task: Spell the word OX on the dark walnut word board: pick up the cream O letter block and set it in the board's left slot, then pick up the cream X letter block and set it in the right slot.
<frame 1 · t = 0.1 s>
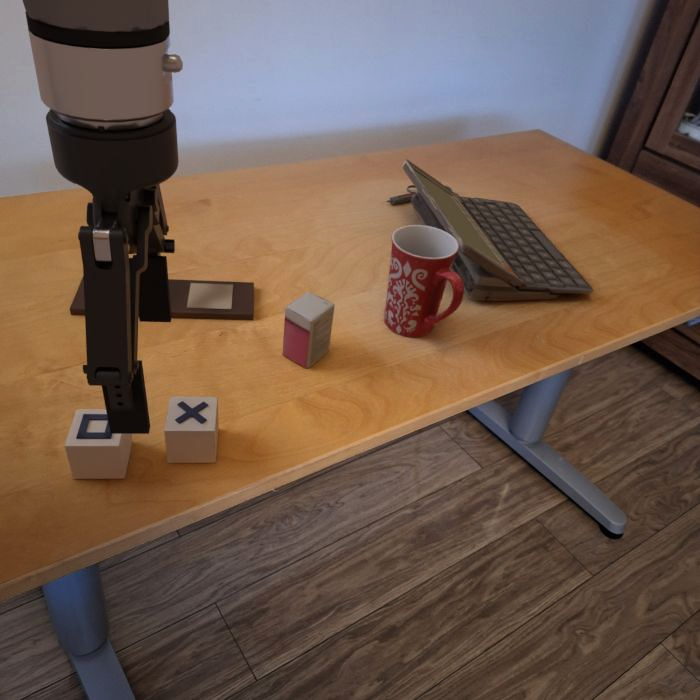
hand: (144, 369, 51), 17 cm above the table, tool pointing down, fingers open, 13 cm apart
tile O: (103, 459, 65), on the table
tile X: (194, 445, 68), on the table
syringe: (415, 200, 122), on the table
small box: (305, 354, 82), on the table
laptop: (484, 252, 109), on the table
word board: (167, 300, 87), on the table
mug: (414, 330, 89), on the table
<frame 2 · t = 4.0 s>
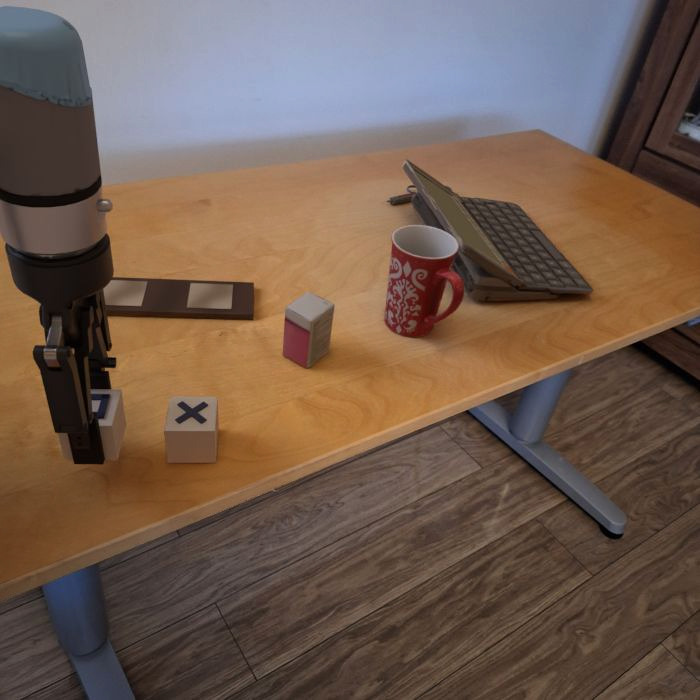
hand: (95, 439, 62), 3 cm above the table, tool pointing down, fingers closed on tile O, 5 cm apart
tile O: (96, 441, 63), point 3 cm above the table, touching gripper
everything else where it was.
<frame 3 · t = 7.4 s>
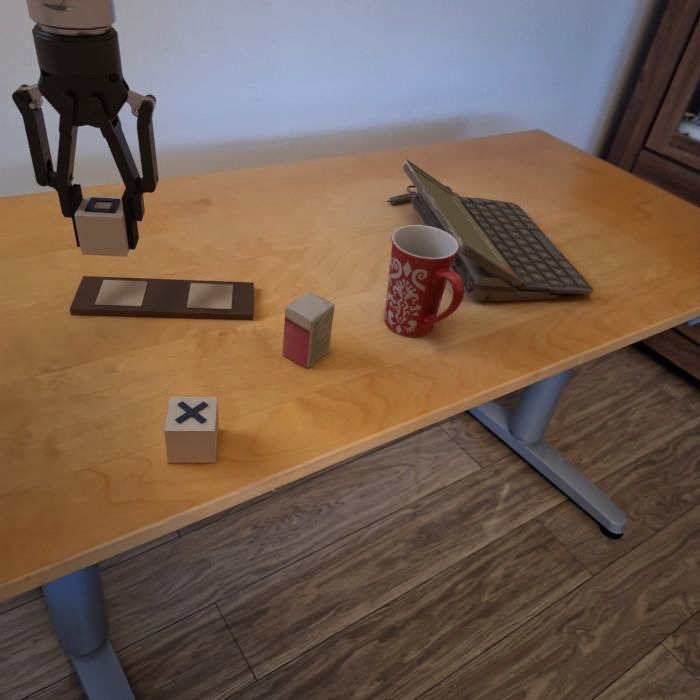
hand: (108, 242, 73), 13 cm above the table, tool pointing down, fingers closed on tile O, 5 cm apart
tile O: (109, 244, 73), point 13 cm above the table, touching gripper
everything else where it was.
when the fingers open (1 cm above the table, at t = 10.7 s): tile O stays where it is, resting on word board.
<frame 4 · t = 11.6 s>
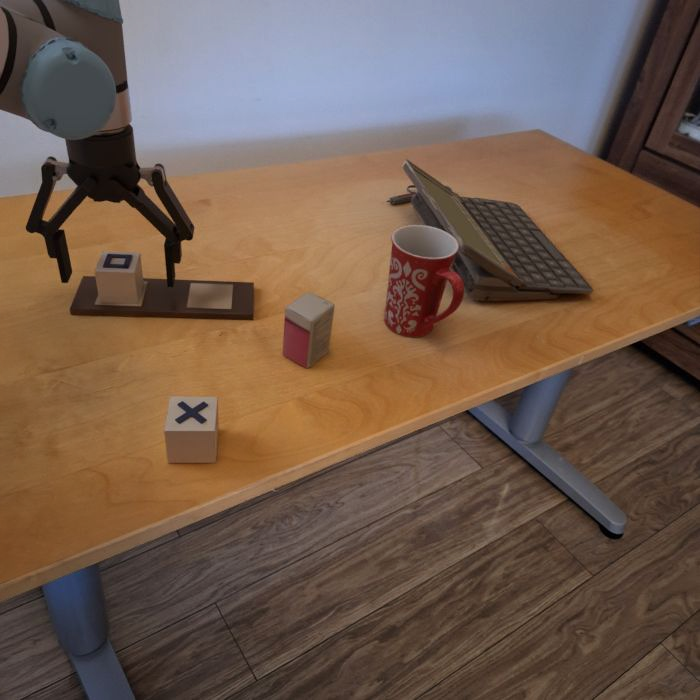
hand: (120, 279, 84), 3 cm above the table, tool pointing down, fingers open, 13 cm apart
tile O: (122, 292, 86), point 1 cm above the table, touching word board
everything else where it was.
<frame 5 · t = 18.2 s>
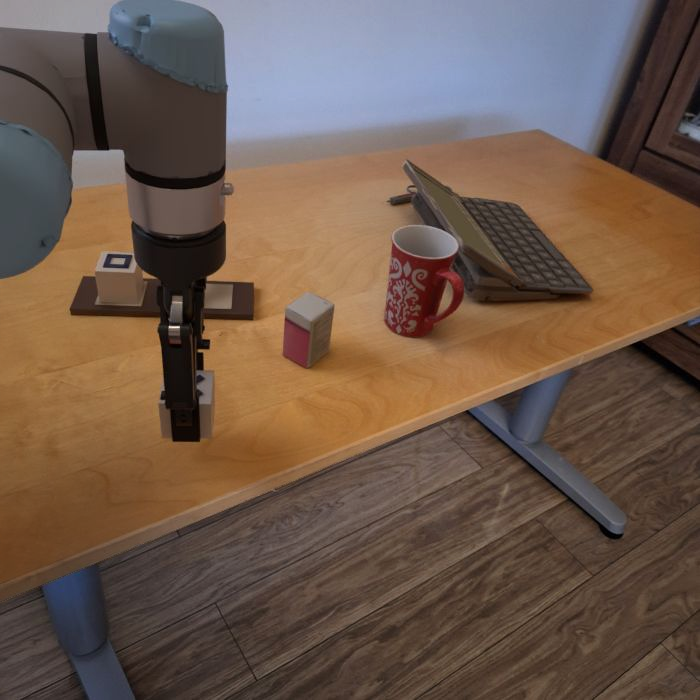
hand: (189, 418, 65), 4 cm above the table, tool pointing down, fingers closed on tile X, 5 cm apart
tile X: (189, 421, 65), point 4 cm above the table, touching gripper
everything else where it was.
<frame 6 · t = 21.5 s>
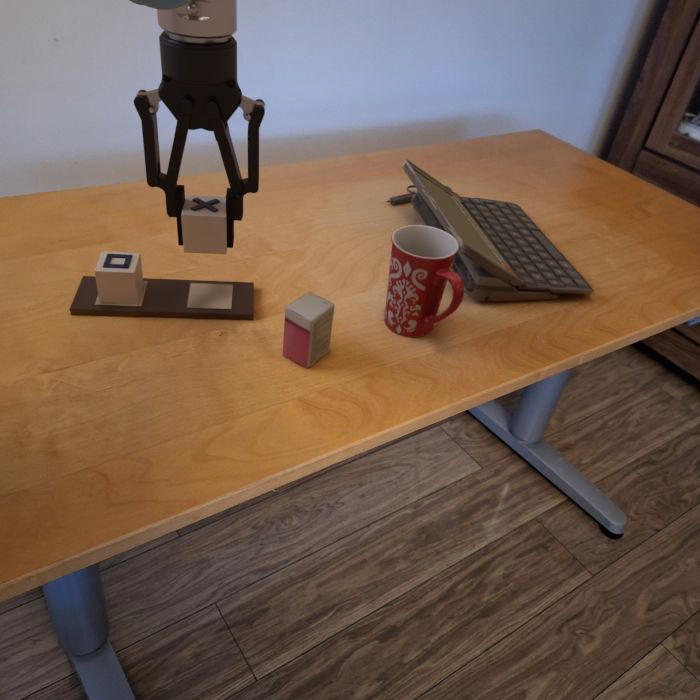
hand: (206, 240, 76), 13 cm above the table, tool pointing down, fingers closed on tile X, 5 cm apart
tile X: (206, 243, 76), point 13 cm above the table, touching gripper
everything else where it was.
when the fingers open (1 cm above the table, at t = 24.7 s): tile X stays where it is, resting on word board.
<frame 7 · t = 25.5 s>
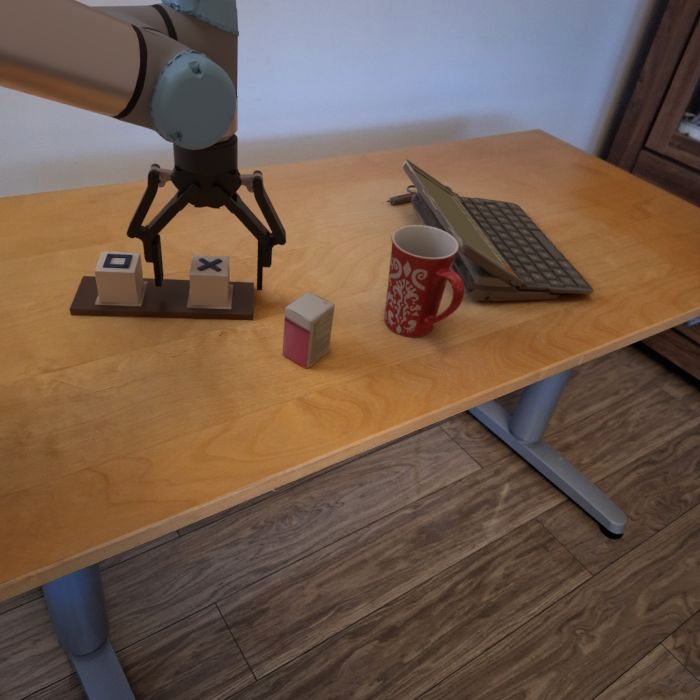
hand: (210, 283, 86), 3 cm above the table, tool pointing down, fingers open, 13 cm apart
tile X: (210, 295, 87), point 1 cm above the table, touching word board
everything else where it was.
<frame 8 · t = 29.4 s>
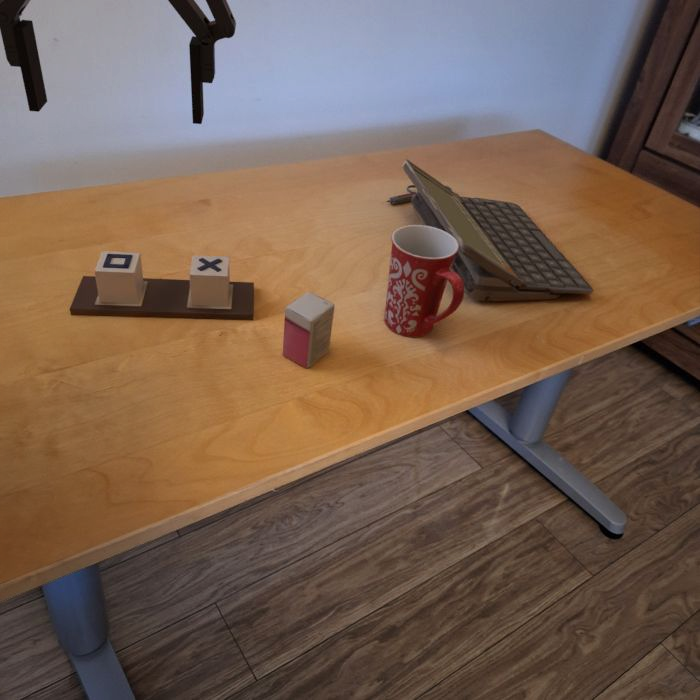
hand: (120, 112, 55), 32 cm above the table, tool pointing down, fingers open, 13 cm apart
nothing on the table moved.
at the end: tile O 0.0 cm from the target spot on the word board, point 1.1 cm above the word board's base; tile X 0.0 cm from the target spot on the word board, point 1.1 cm above the word board's base; tile X tilted 0° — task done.
